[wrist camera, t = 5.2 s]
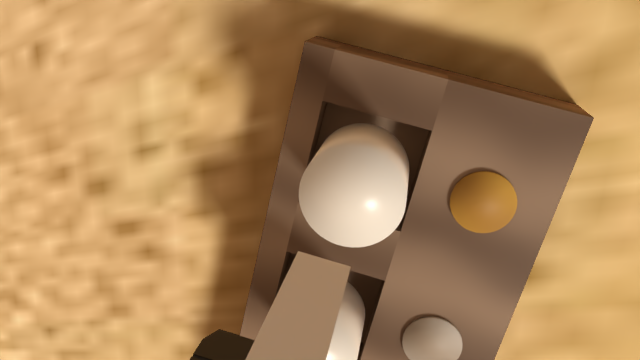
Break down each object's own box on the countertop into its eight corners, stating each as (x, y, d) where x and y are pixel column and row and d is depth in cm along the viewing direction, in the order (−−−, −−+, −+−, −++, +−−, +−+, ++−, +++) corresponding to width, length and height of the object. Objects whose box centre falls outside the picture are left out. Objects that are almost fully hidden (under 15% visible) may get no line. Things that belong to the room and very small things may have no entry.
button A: (328, 112, 27) (311, 132, 23) (421, 137, 26) (420, 162, 23) (307, 198, 28) (288, 230, 25) (394, 223, 28) (389, 260, 24)
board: (316, 36, 29) (304, 41, 26) (577, 104, 28) (595, 119, 25) (226, 433, 38) (208, 472, 35) (420, 498, 37) (419, 543, 34)
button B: (291, 262, 30) (271, 301, 26) (375, 287, 29) (367, 331, 25) (273, 333, 31) (252, 380, 27) (353, 357, 31) (342, 409, 27)
